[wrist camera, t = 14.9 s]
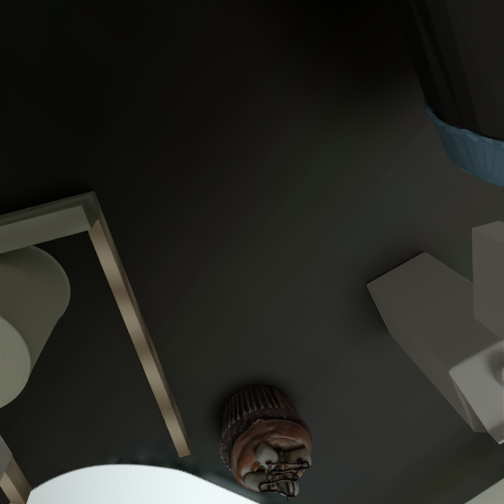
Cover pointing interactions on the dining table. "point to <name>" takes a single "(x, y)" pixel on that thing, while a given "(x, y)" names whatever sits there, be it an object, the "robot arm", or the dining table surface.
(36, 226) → the guide track
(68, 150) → the dining table surface
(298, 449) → the cupcake
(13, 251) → the can
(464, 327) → the milk carton
